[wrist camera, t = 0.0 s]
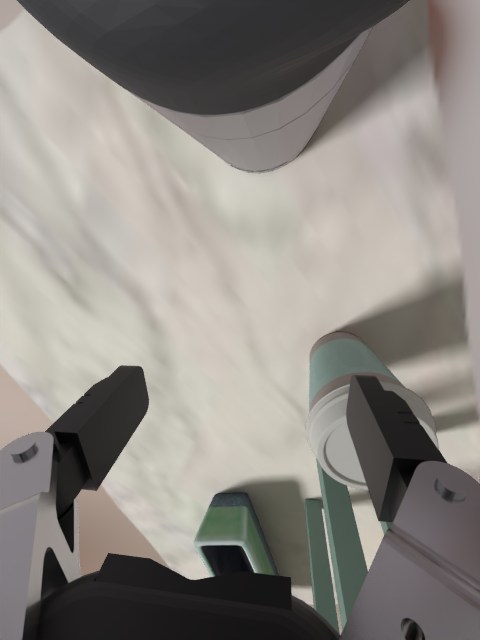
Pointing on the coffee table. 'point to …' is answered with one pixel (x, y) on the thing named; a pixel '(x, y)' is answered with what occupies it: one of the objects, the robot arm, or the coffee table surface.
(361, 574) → the tall green stool
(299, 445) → the coffee table surface
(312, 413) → the coffee cup
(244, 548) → the planter
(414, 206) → the coffee table surface
